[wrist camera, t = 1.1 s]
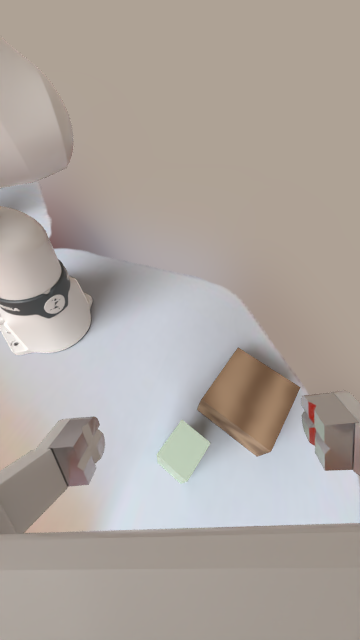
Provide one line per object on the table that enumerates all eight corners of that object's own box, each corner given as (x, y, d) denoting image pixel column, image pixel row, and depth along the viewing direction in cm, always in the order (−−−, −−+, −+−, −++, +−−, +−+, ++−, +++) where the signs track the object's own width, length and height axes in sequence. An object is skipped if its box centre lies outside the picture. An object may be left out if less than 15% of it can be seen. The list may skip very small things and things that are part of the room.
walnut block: (196, 409, 42) (201, 399, 38) (230, 361, 48) (238, 347, 44) (257, 456, 39) (270, 451, 34) (285, 398, 45) (300, 387, 40)
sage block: (157, 463, 37) (156, 454, 28) (177, 435, 40) (181, 419, 31) (180, 483, 36) (187, 481, 27) (199, 454, 38) (210, 443, 30)
